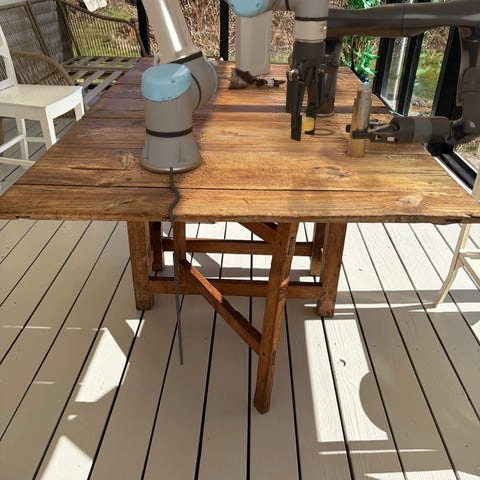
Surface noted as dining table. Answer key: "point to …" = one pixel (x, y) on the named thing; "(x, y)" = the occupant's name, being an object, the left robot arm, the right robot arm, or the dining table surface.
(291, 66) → the anatomical model
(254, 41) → the tall white pillar
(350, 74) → the dining table surface
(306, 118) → the lid
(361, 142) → the tan cylinder
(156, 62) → the toy
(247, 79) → the figurine
